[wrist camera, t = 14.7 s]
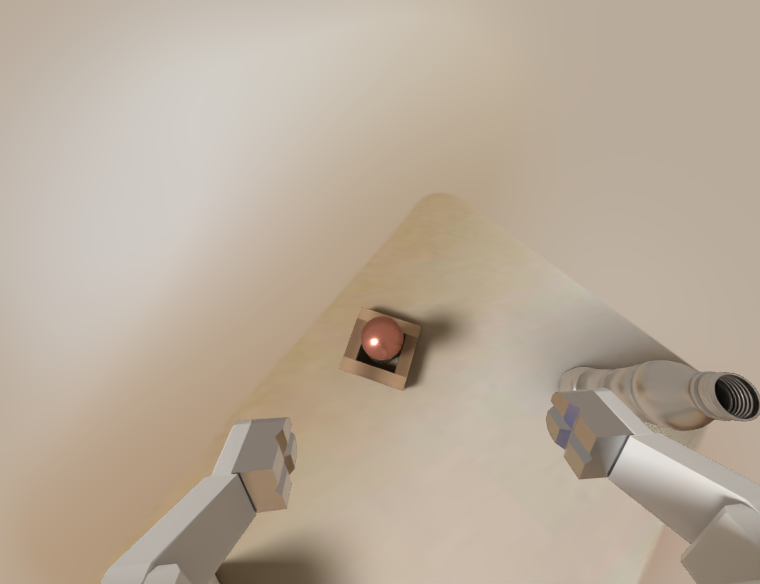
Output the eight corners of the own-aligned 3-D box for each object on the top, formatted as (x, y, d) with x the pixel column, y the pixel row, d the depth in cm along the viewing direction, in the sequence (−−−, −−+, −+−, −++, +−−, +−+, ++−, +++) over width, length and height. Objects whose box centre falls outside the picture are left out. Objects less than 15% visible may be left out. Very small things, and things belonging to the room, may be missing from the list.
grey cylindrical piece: (401, 339, 44) (408, 324, 34) (391, 370, 43) (396, 365, 32) (370, 329, 45) (368, 311, 34) (360, 360, 43) (354, 351, 33)
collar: (418, 330, 45) (421, 326, 42) (401, 390, 42) (403, 390, 39) (362, 311, 46) (361, 306, 43) (341, 369, 43) (339, 368, 40)
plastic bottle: (587, 426, 41) (771, 463, 22) (543, 396, 42) (681, 405, 23) (606, 387, 42) (793, 388, 23) (563, 358, 44) (707, 337, 25)
